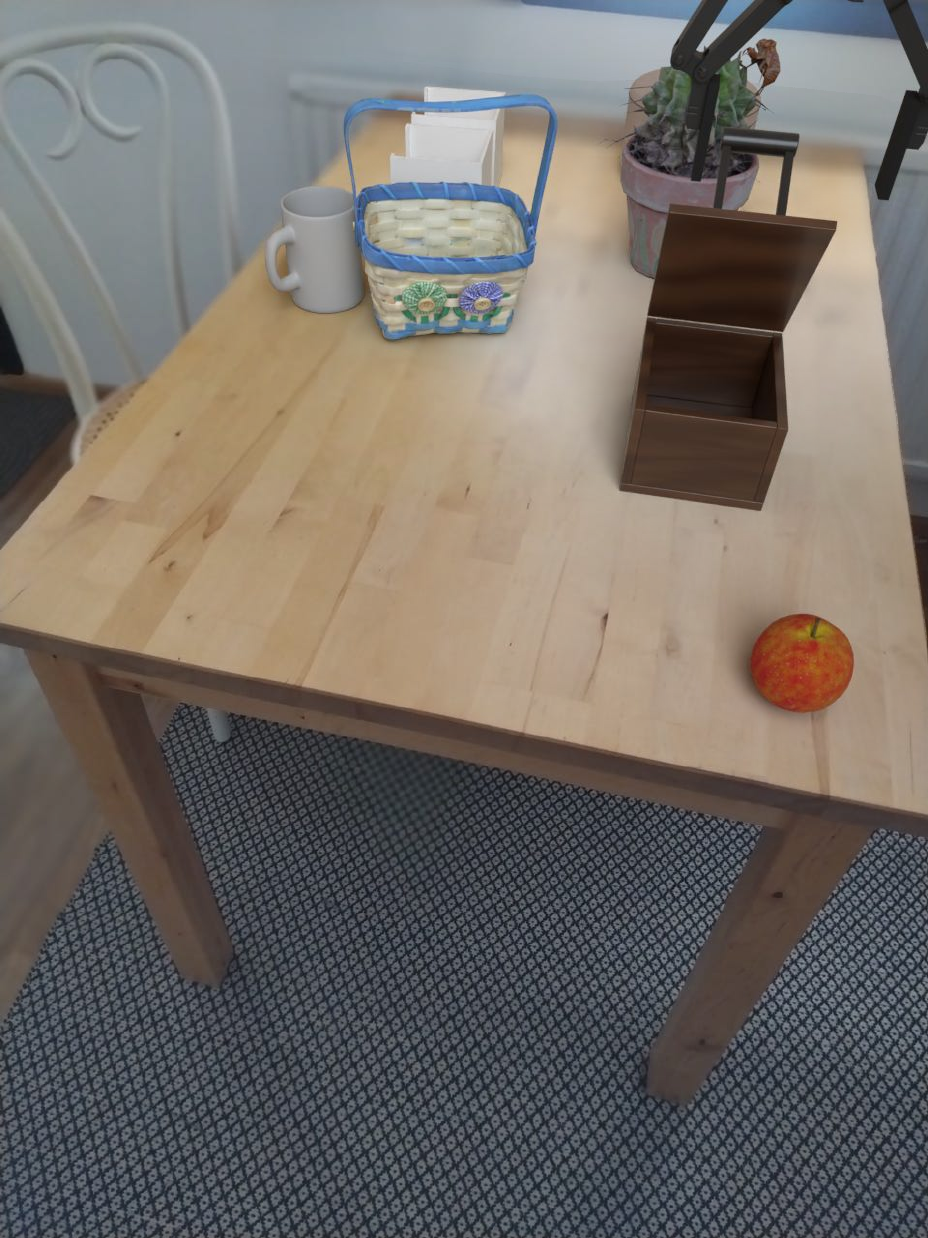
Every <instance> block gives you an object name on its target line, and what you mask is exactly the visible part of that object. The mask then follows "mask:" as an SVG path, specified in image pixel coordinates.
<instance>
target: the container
mask: <svg viewBox="0 0 928 1238" xmlns="http://www.w3.org/2000/svg"><path fill="white" fill-rule="evenodd" d="M660 70H661V68H658V69H654V70H651V71H648V72H645V73H644V74H641V75H640V76H639V77H637V78H636V79H635V80H634V82H632V84H631V86H630V88H634V89H629V91H628V101H627V103H629V104H627V108H626V115H625V122H624V123H625V124H624V131H623V137H625V136H627V135H629V134H631V133H632V132H634V131H635V129H634V126H635V128H636V127H638V126H641V125H643V124H645V122H646V121H647V119H648V115H647V114H645V113H644V111H642V112H633V111H636V110H639V109H642V108H644V107H645V106H644V105H643V103H642V101H638V102H633V101H636V100H640V99H642V97H643V96H644V95H646V94H647V93H649V92H650V91H652V90H653V89H652V88H651V87H649V86H653V85H654V83H656V82H658V81H659V75H660ZM637 87H647V88H637ZM746 88H748V89H749V90H750V91H752V92H753V93H754V94H755V93H756V92H757V91H758V90H759V89H757V86H755V85H754V84H753V83H751V81H749V80H747V86H746ZM756 98H757V99H758V100H759V101H760V102H761V103H762V101H761V98H762V97H761V94H760V95H759V96H757V97H756ZM630 102H633V103H630ZM756 104H757V105H759V106H760V107H759V106H755V107H754V108H753V109H752V110H751V111H750V112H749V113H748V114H747V115H746V116H745V117H744V119H745V121H746V123H747V125H748V126H751V125H752V124H753V123H754V124H753V125H752V126H751V128H750V129H756V126H757V125H756V124H757V122H758V116H759V112H760V109H761V107H762V105H761V104H759V103H758V102H756ZM628 112H629V113H628ZM633 136H635V134H634V135H631V136H629V137H626V138H624V139H622V144H621V145H622V146H621V152H620V163H621V164H622V156H621V155H622V150H623V148H624V147H625V145H626V143H627V142H628V141H629V140H630V138H632V137H633Z"/></svg>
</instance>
